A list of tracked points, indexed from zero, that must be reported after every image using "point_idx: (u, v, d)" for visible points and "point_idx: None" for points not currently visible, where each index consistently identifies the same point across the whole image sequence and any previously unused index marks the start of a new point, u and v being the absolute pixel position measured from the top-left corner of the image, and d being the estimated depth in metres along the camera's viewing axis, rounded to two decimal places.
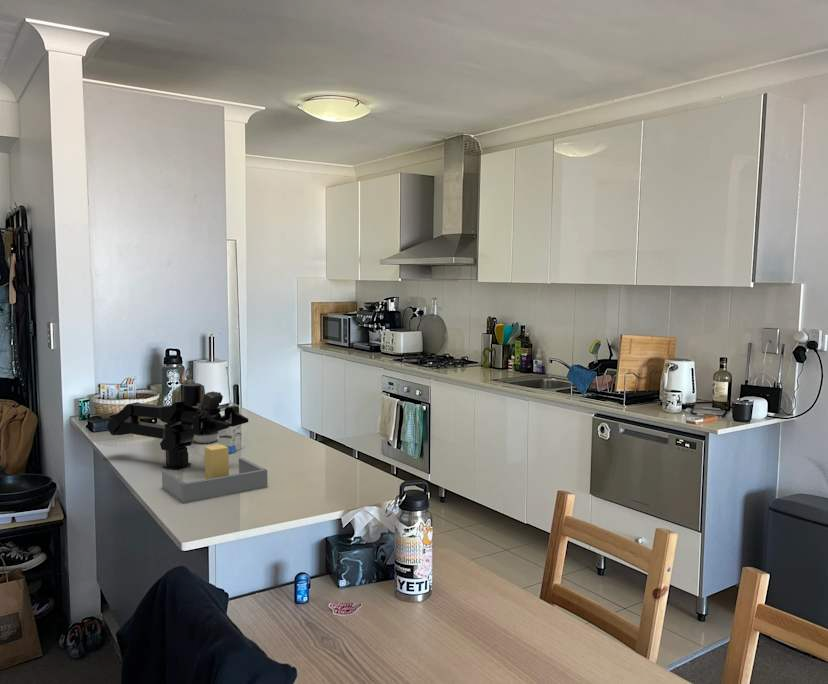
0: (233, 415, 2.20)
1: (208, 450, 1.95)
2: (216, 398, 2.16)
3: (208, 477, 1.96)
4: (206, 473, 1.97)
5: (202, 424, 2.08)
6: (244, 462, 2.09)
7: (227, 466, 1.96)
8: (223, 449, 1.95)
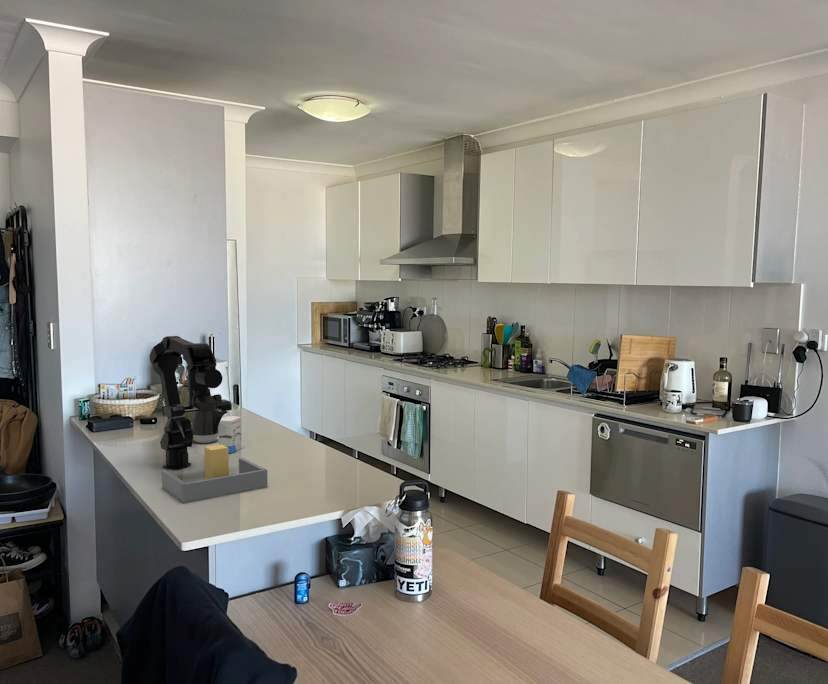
0: (216, 414, 2.12)
1: (208, 450, 1.95)
2: None
3: (208, 477, 1.96)
4: (206, 473, 1.97)
5: (173, 416, 2.05)
6: (244, 462, 2.09)
7: (227, 466, 1.96)
8: (223, 449, 1.95)
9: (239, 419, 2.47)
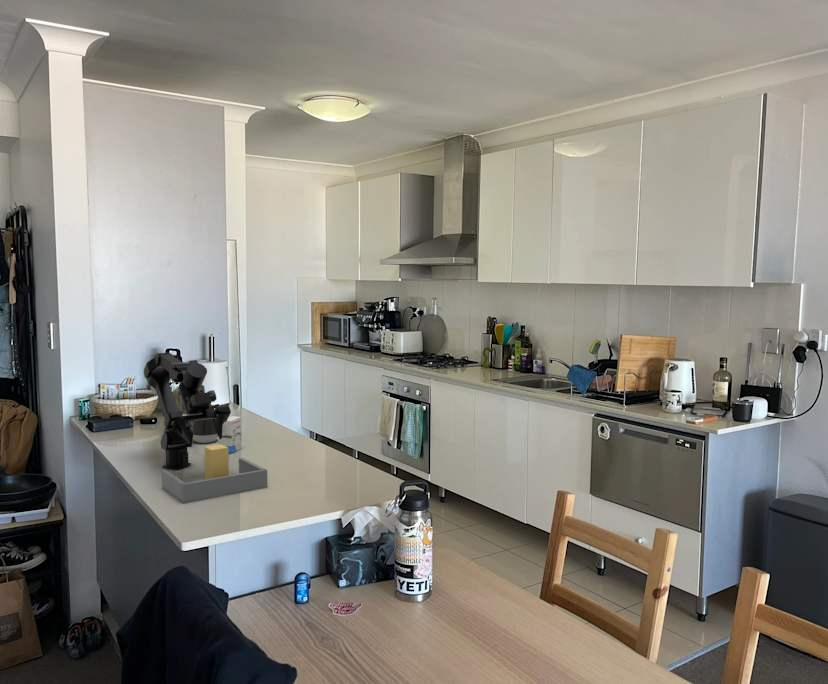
0: (217, 420, 2.09)
1: (208, 450, 1.95)
2: (203, 403, 2.03)
3: (208, 477, 1.96)
4: (206, 473, 1.97)
5: (172, 424, 2.01)
6: (244, 462, 2.09)
7: (227, 466, 1.96)
8: (223, 449, 1.95)
9: (239, 419, 2.47)
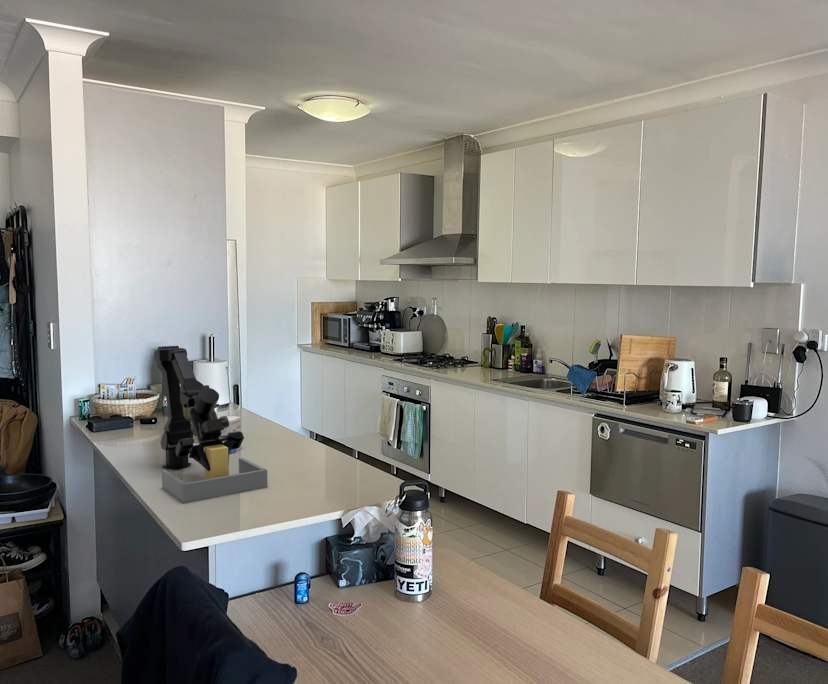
0: None
1: (208, 450, 1.95)
2: (216, 429, 1.96)
3: (208, 477, 1.96)
4: (206, 473, 1.97)
5: (191, 451, 1.96)
6: (244, 462, 2.09)
7: (227, 466, 1.96)
8: (223, 449, 1.95)
9: (239, 419, 2.47)
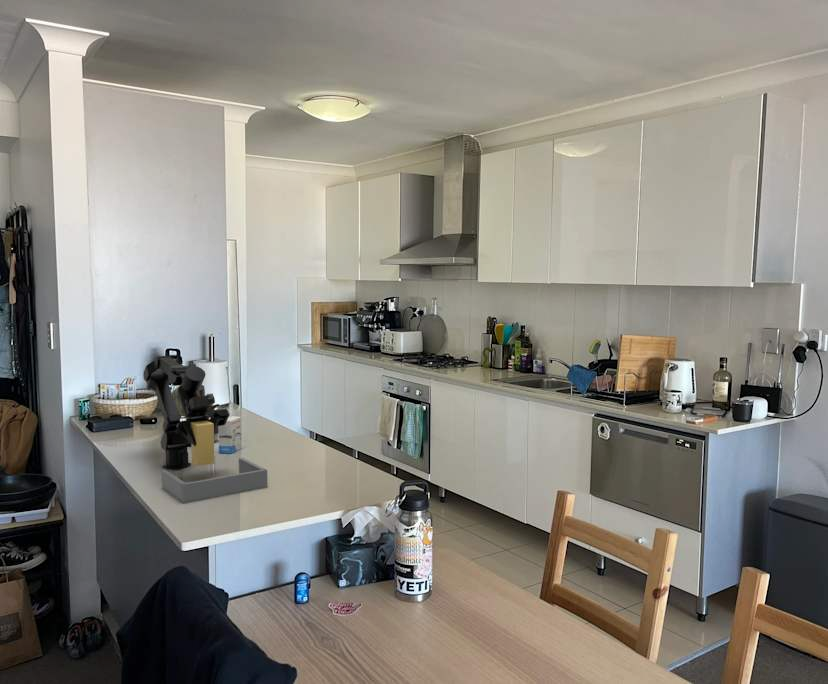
0: None
1: (194, 426, 2.02)
2: (202, 406, 2.04)
3: (194, 452, 2.04)
4: (192, 448, 2.05)
5: (177, 426, 2.03)
6: (244, 462, 2.09)
7: (212, 441, 2.04)
8: (209, 425, 2.03)
9: (239, 419, 2.47)
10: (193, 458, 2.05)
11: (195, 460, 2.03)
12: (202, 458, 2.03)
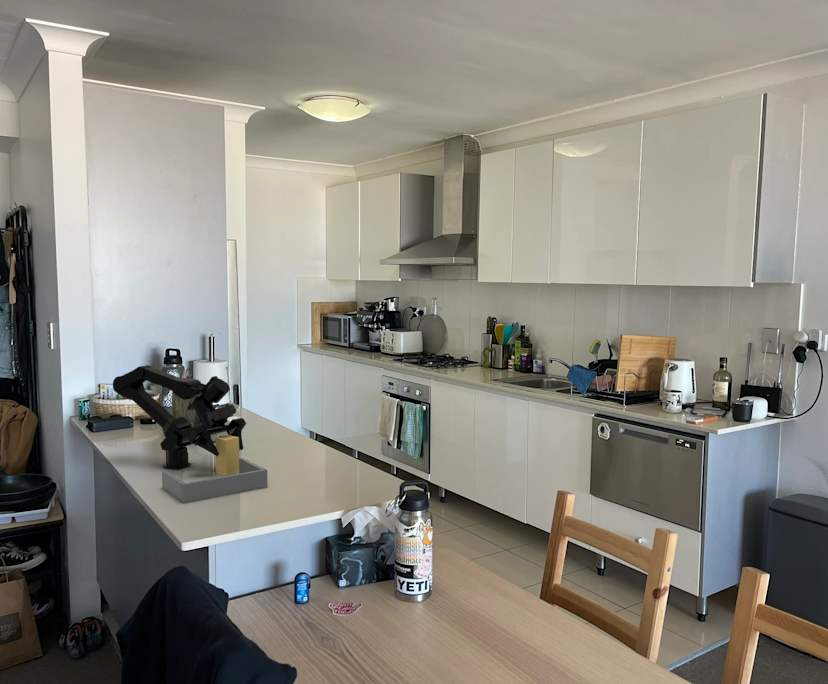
0: (235, 432, 2.19)
1: (221, 440, 2.11)
2: (226, 416, 2.13)
3: (221, 465, 2.12)
4: (218, 462, 2.13)
5: (198, 438, 2.09)
6: (244, 462, 2.09)
7: (238, 454, 2.14)
8: (235, 439, 2.13)
9: None
10: (219, 472, 2.13)
11: (223, 474, 2.12)
12: (230, 471, 2.12)
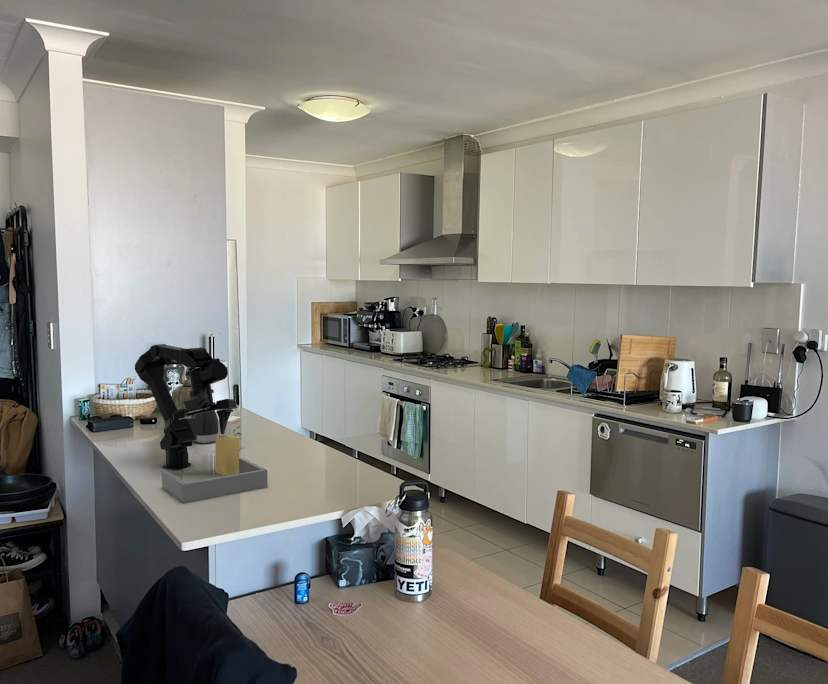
0: None
1: (221, 440, 2.11)
2: None
3: (221, 465, 2.12)
4: (218, 462, 2.13)
5: None
6: (244, 462, 2.09)
7: (238, 454, 2.14)
8: (235, 439, 2.13)
9: (239, 419, 2.47)
10: (219, 472, 2.13)
11: (223, 474, 2.12)
12: (230, 471, 2.12)
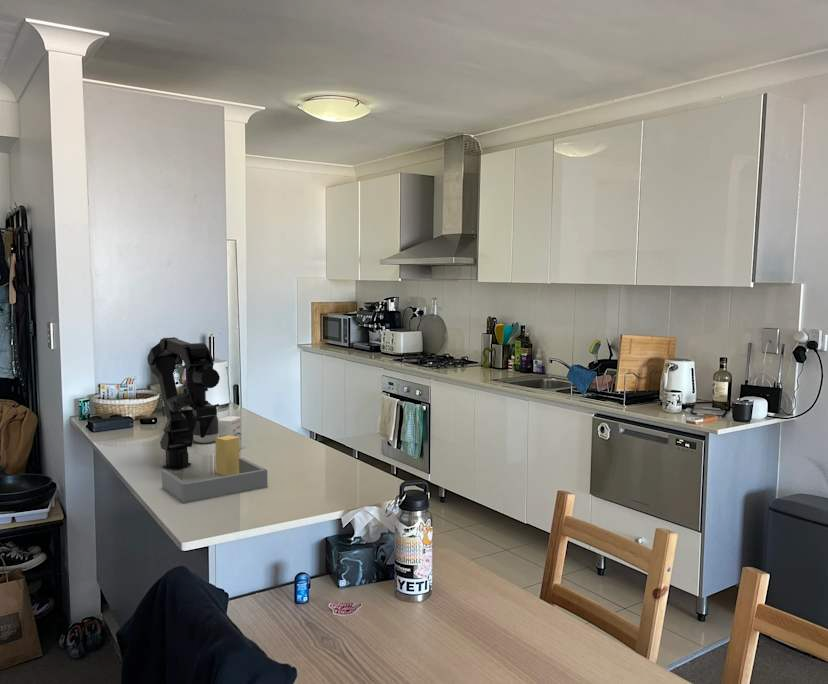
0: None
1: (221, 440, 2.11)
2: None
3: (221, 465, 2.12)
4: (218, 462, 2.13)
5: None
6: (244, 462, 2.09)
7: (238, 454, 2.14)
8: (235, 439, 2.13)
9: (239, 419, 2.47)
10: (219, 472, 2.13)
11: (223, 474, 2.12)
12: (230, 471, 2.12)
